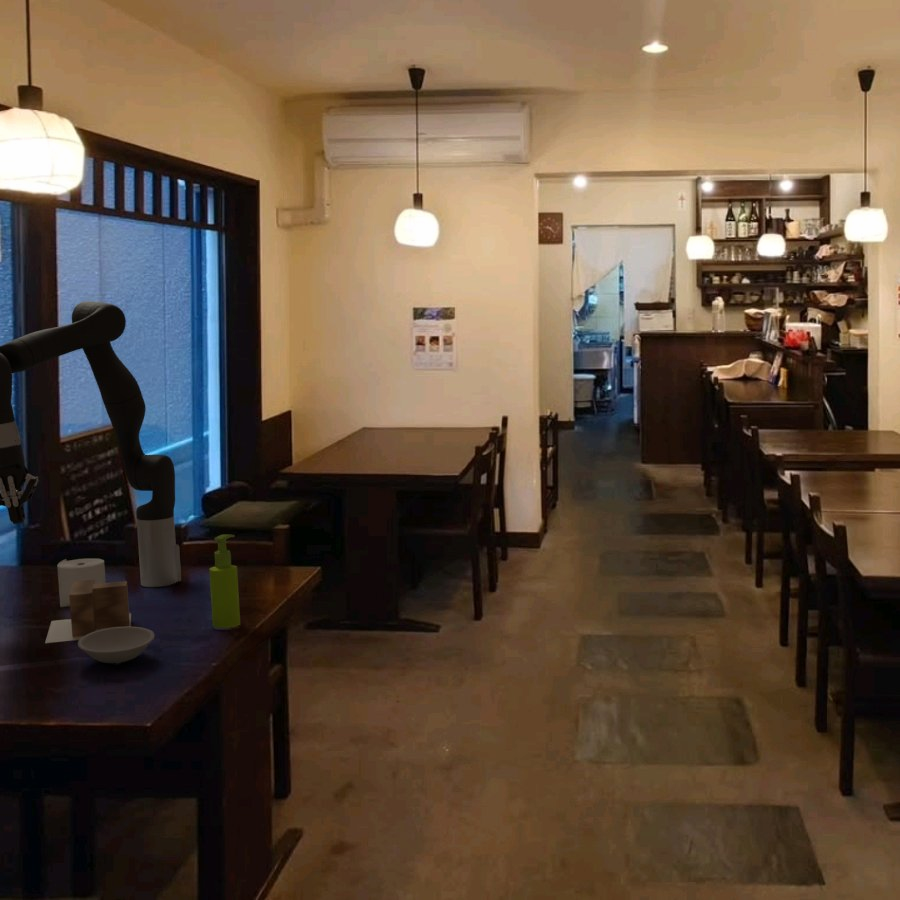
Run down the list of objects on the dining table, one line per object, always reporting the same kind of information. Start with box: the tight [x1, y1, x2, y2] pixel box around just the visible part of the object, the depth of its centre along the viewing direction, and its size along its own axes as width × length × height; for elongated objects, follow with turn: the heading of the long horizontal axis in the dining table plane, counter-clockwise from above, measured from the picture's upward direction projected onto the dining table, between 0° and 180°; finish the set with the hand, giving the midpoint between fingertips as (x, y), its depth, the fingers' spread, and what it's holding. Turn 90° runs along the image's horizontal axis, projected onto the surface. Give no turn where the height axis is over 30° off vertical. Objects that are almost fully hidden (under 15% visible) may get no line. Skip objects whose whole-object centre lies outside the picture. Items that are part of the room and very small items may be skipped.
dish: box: [77, 625, 156, 664], centre depth 211 cm, size 18×14×5 cm
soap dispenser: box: [209, 534, 241, 628], centre depth 235 cm, size 6×7×20 cm
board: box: [44, 612, 132, 644], centre depth 236 cm, size 30×18×1 cm, turn 106°
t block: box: [69, 580, 130, 637], centre depth 234 cm, size 12×13×9 cm
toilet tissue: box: [57, 558, 107, 608], centre depth 259 cm, size 11×12×10 cm
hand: (18, 522), depth 234 cm, fingers closed
